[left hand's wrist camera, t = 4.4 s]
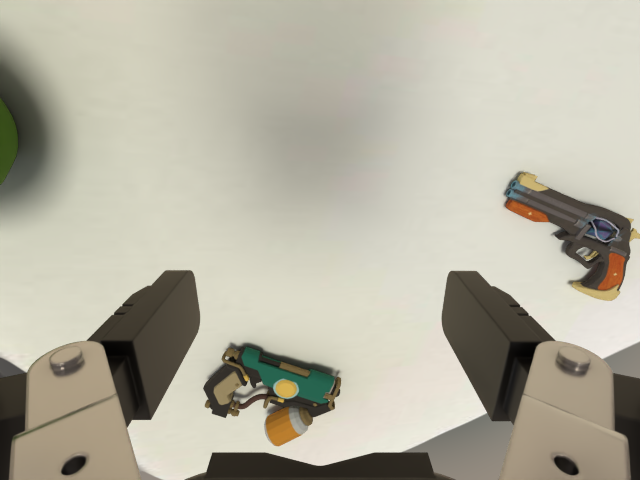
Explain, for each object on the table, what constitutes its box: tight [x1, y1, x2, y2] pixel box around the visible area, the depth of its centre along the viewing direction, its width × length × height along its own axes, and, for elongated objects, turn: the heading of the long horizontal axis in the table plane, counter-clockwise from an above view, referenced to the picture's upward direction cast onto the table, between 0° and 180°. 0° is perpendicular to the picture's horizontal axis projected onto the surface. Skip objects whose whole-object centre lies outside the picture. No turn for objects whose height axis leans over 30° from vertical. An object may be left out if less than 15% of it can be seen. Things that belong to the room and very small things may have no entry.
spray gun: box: [203, 346, 341, 446], centre depth 48 cm, size 4×17×15 cm
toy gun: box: [506, 172, 640, 301], centre depth 41 cm, size 3×19×10 cm
